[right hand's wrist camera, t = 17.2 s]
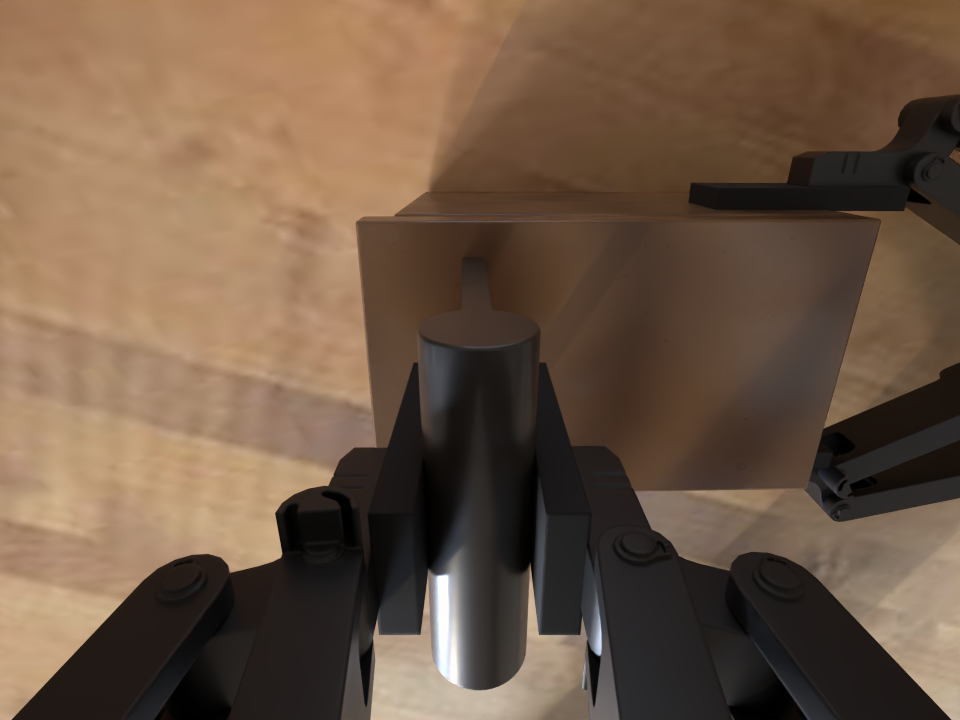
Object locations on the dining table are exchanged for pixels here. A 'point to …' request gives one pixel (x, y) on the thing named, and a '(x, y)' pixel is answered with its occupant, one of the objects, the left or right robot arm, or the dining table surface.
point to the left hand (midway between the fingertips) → (682, 330)
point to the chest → (573, 205)
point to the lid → (595, 373)
